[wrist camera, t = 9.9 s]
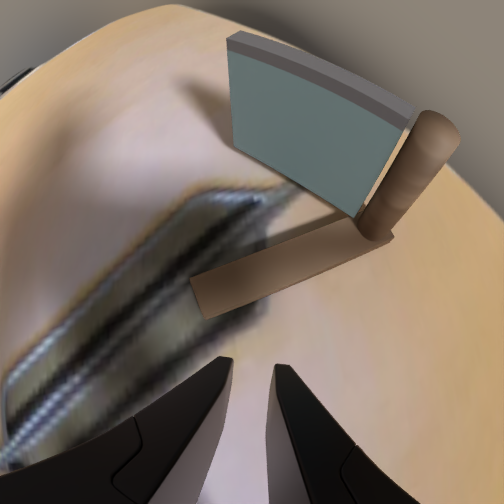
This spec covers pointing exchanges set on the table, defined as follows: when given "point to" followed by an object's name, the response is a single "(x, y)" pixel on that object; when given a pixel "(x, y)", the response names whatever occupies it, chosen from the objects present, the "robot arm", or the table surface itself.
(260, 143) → the panel
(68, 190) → the table surface
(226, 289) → the brown l-shaped piece
